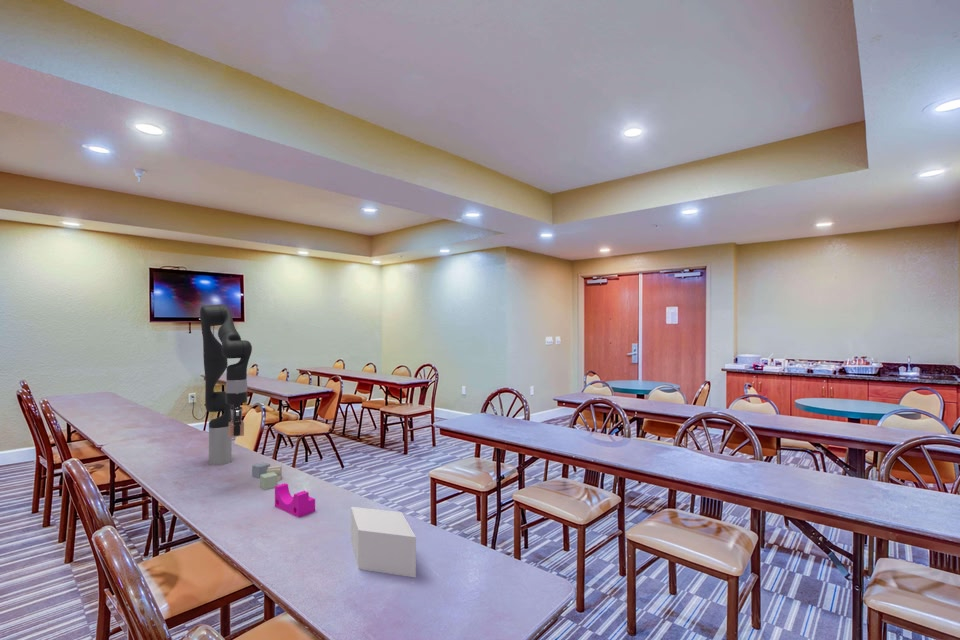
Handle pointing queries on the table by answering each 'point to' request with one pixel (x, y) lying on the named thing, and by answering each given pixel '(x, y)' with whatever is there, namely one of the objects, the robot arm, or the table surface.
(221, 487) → the table surface
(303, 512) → the toy block
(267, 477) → the cube sage
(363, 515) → the white rectangular block
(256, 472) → the cube slate
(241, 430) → the cube terracotta
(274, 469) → the cube cream
